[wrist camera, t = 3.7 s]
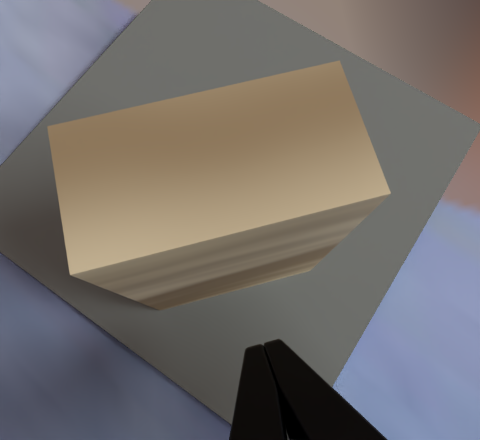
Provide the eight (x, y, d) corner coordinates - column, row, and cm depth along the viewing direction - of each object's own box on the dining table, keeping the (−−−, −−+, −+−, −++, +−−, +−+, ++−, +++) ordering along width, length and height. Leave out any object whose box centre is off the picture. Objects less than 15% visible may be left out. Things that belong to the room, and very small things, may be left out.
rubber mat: (477, 129, 19) (482, 125, 18) (285, 462, 15) (286, 465, 15) (188, -32, 21) (187, -39, 21) (-41, 220, 17) (-47, 217, 17)
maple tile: (310, 270, 16) (391, 193, 8) (160, 310, 16) (70, 275, 7) (286, 195, 17) (336, 50, 9) (143, 231, 17) (45, 115, 8)
